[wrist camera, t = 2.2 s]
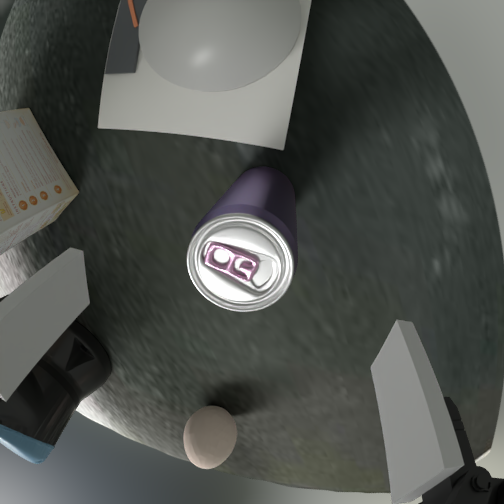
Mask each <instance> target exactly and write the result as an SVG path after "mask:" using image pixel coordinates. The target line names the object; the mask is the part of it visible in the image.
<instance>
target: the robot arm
mask: <svg viewBox="0 0 504 504" xmlns="http://www.w3.org/2000/svg"><path fill="white" fill-rule="evenodd" d="M89 304H90V300H89V294H88V287H87V280H86V272H85V263H84V254H83V251H81V250H78V249H74V248H71V247H70V248H69V249H67V250H66V251H65V252H63V253H62V254H61V255H59V256H58V257H56V258H55V259H54V260H52V261H51V262H50V263H48V264H47V265H46V266H44V267H43V268H42V269H41V270H39V271H38V272H37V273H35V274H34V275H33V276H31V277H30V278H29V279H28V280H26V281H25V282H24V283H23V284H21V285H20V286H19V287H18V288H17V289H15V290H14V291H13V292H12V293H10V294H9V295H6V296H4V297H2V298H0V443H1V444H3V445H4V446H6V447H7V448H8V449H10V450H11V451H13V452H14V453H16V454H17V455H19V456H21V457H22V458H24V459H26V460H28V461H30V462H32V463H35V464H40V463H42V462H44V461H45V459H46V458H47V457H48V455H49V454H50V452H51V451H52V450H53V449H54V448H55V444H56V442H57V441H58V439H59V437H60V435H61V434H62V432H63V430H64V428H65V427H66V425H67V423H68V421H69V420H70V418H71V417H72V415H73V413H74V411H75V410H76V408H77V407H78V405H79V403H80V402H81V401H82V400H83V399H85V398H86V397H88V396H89V395H90V394H92V393H93V392H94V391H96V390H97V389H98V388H100V387H101V386H103V384H104V383H105V382H106V380H107V379H108V377H109V375H110V373H111V364H110V360H109V358H108V356H107V354H106V352H105V350H104V349H103V347H102V346H101V344H100V343H99V342H98V341H97V339H96V338H95V337H94V336H93V335H92V334H91V333H90V332H89V331H88V330H87V329H85V328H84V327H83V326H82V325H80V324H79V323H78V322H76V321H74V320H75V319H76V318H77V317H78V316H79V314H80V313H81V312H82V311H83V310H84V309H85V308H86V307H87V306H88V305H89ZM371 372H372V377H373V382H374V386H375V391H376V397H377V402H378V407H379V413H380V418H381V424H382V430H383V436H384V442H385V449H386V456H387V464H388V471H389V480H390V489H391V499H392V504H398V503H406V502H411V501H413V500H415V499H416V498H418V497H420V496H421V495H422V499H423V501H422V502H421V503H419V504H504V479H499V478H492V477H491V475H490V473H489V472H488V471H487V470H486V469H485V468H483V467H480V466H476V463H475V461H474V457H473V454H472V450H471V447H470V444H469V441H468V437H467V434H466V431H464V425H463V423H462V421H461V417H460V414H459V411H458V409H457V407H456V405H455V404H454V403H453V401H452V400H451V399H450V397H443V395H442V393H441V390H440V387H439V385H438V382H437V379H436V377H435V374H434V372H433V369H432V367H431V364H430V362H429V359H428V357H427V355H426V352H425V350H424V348H423V345H422V343H421V341H420V338H419V336H418V334H417V332H416V329H415V327H414V325H413V323H412V322H408V321H402V320H396V322H395V324H394V326H393V328H392V330H391V332H390V333H389V335H388V337H387V339H386V341H385V343H384V345H383V346H382V348H381V350H380V352H379V354H378V355H377V357H376V359H375V361H374V362H373V364H372V366H371Z"/></svg>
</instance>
